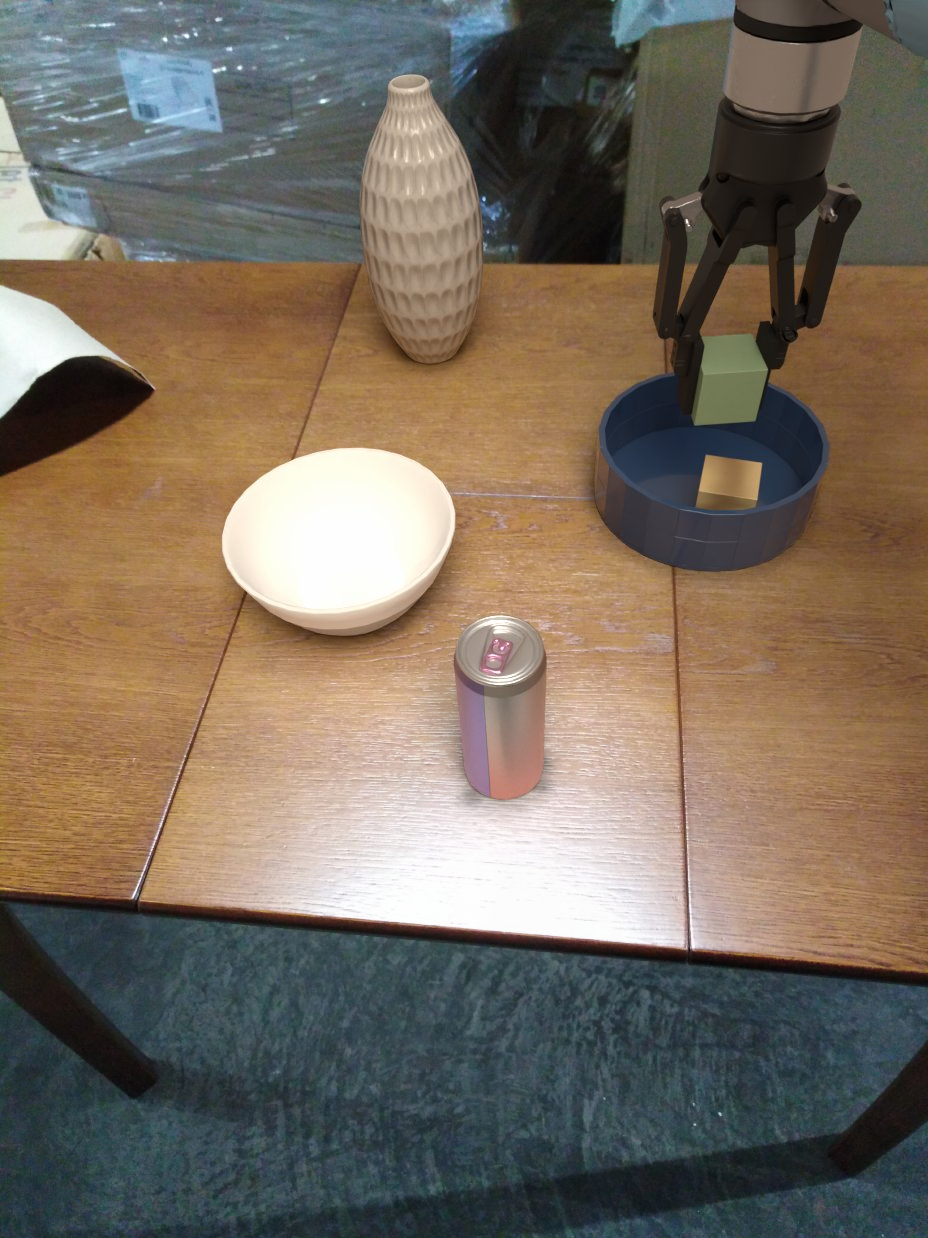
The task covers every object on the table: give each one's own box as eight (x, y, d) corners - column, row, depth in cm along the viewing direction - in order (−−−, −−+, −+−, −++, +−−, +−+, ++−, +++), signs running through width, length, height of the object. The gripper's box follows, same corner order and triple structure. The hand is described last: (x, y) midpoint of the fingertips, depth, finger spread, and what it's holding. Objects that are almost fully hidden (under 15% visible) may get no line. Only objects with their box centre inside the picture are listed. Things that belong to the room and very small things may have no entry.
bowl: (252, 524, 86) (230, 458, 80) (452, 504, 87) (446, 436, 80) (237, 688, 74) (210, 626, 68) (471, 664, 74) (466, 599, 68)
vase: (408, 395, 98) (376, 122, 76) (359, 340, 105) (317, 76, 84) (507, 358, 102) (503, 86, 80) (453, 306, 109) (436, 45, 87)
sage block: (740, 384, 76) (752, 332, 72) (755, 421, 73) (768, 369, 69) (681, 388, 76) (690, 337, 72) (694, 425, 73) (703, 374, 69)
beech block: (751, 503, 84) (762, 462, 80) (746, 540, 81) (757, 499, 77) (697, 495, 85) (705, 454, 81) (690, 531, 82) (698, 490, 78)
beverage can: (452, 789, 67) (437, 671, 55) (481, 726, 70) (472, 602, 59) (528, 814, 65) (529, 698, 54) (553, 748, 69) (559, 625, 57)
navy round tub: (816, 444, 90) (835, 385, 84) (801, 590, 78) (822, 533, 72) (616, 414, 94) (622, 357, 89) (573, 548, 82) (577, 491, 77)
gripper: (903, 65, 58) (813, 367, 76) (628, 85, 59) (603, 382, 77) (947, 112, 54) (841, 423, 72) (648, 134, 54) (617, 438, 72)
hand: (718, 401), depth 74 cm, fingers closed on sage block, 5 cm apart
